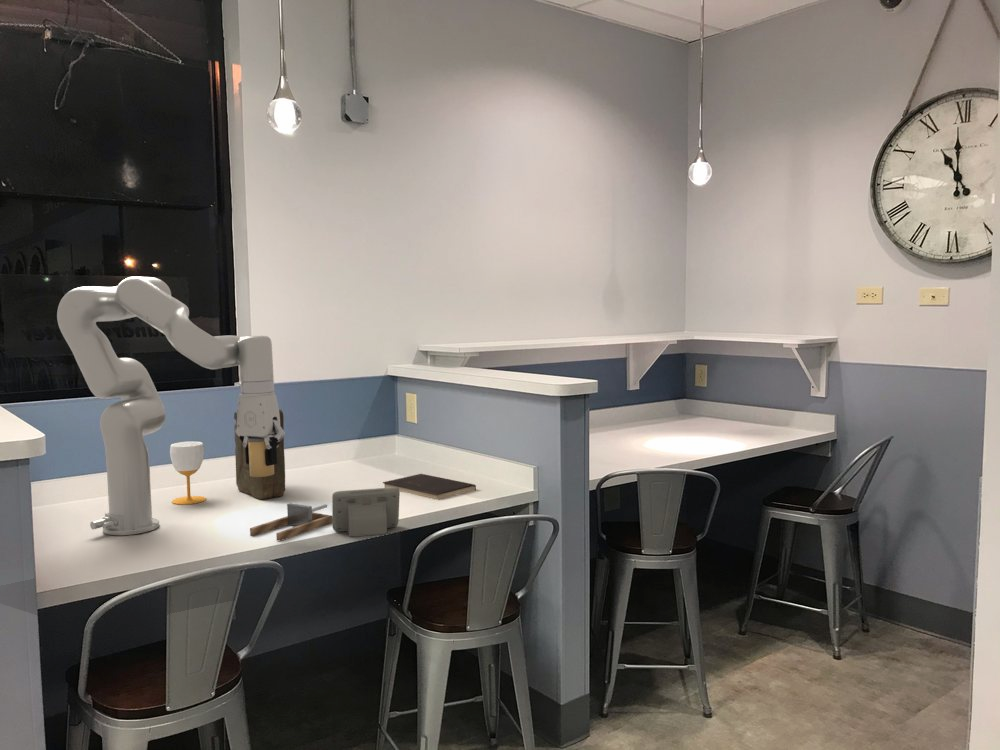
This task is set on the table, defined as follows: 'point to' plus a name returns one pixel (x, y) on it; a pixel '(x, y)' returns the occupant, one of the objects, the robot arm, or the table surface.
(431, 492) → the hardcover book
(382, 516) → the digital clock
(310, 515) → the pusher
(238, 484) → the canister
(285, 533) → the lane
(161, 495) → the table surface
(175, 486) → the table surface
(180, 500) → the cup
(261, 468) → the jar
